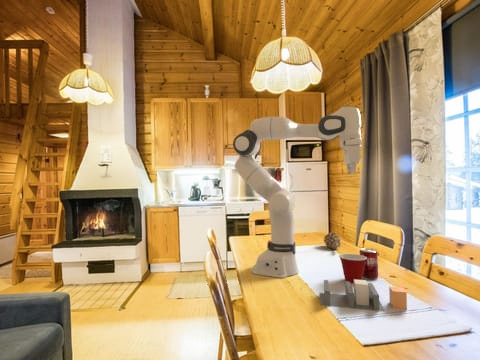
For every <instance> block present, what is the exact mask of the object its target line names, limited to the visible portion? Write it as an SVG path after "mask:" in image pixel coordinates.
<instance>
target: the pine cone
mask: <svg viewBox="0 0 480 360" xmlns="http://www.w3.org/2000/svg"><path fill="white" fill-rule="evenodd" d="M322 241H323V243H324V245H326V246H327V247H328V248H329V249H332V250H335V249H338V248H340V247H341V245H342V242H341V238H339V235H337V234H336V233H335V232H333V231H330V232H328V233H327V234H325V235H324V236H323V240H322Z"/></svg>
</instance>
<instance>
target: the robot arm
mask: <svg viewBox="0 0 480 360" xmlns="http://www.w3.org/2000/svg"><path fill="white" fill-rule="evenodd" d="M361 127H362V119H361V113H360V110H359V108H358V107H355V106H351V105H350V106H349V105H346V106H342V107H340V109H338V110H336V111H335V112H333V113H331V114H328V115H325V116H323V117H322V118H320V120H319V121H318V123H298V122H295V121H293V120H292V119H290V118H288V117H284V116H267V117H266V116H265V117H260V118H256V119H253V121H251V123H250V127H249V129H246V130H244V131H243V132H241V133H239V134H238V135H237V136H235V137H234V138H233V141H232V146H233V150H234V152H236V154H238V158H237V160H236V161H235V164H234V168H235V171H236V172H237V173H238V175H239V176H240V178H242V180H244V182H245V183H246V184H247V185H248V186H249V187H250V188H251V189H252V190H253V191H254V192H255V193H256V194H258V195H259V196H260V197H262V198H263V199H264V200H265V201H267V203H268V212H269V213H268V214H269V223H270V232H271V233H270V234H271V235H270V236H271V237H270V239H271V240H268V241H267V244H266V248H267V249H266V250H264V251H263V252H261V254H259V255H258V256H257V259H256V263H255V264H254V265H253V266H252V267H251V273H252V274H254V275H259V276H267V277H273V278H279V279H280V278H281V279H283V278H287V277H290V276H291V277H292V276H295V275H297V274H298V273H299V268H298V264H297V260H296V252H297V249H296V247H297V246H296V241H295V225H294V212H293V207H294V205H295V198H294V196H293V194H292V193H291V192H290V191H289V190H288V189H286V187H284V186H283V185H282V184H281V183H280V182H279V181H278V180H276V179H275V178H274V177H273V176H272V175H271V174H270V173H269V172H268V171H267V170H266V169H265V168H264V167H263V166H262V165H261V164H260V163H258V161H257V160H256V159H257V158H258V155H259V154H260V152H261V149H262V142H263V141H267V140H268V141H270V140H271V141H273V140H274V141H275V140H276V141H277V140H279V141H280V140H286V139H293V138H319V139H321V140H323V141H326V142H331V141H334V140H336V139H337V138H338V137H339V148H340V149H343V150H342V152H343V164H344V165H345V166H346V170H347V171H346V172H347V175H356V173H357V172H356V171H357V164H358V163H360V159H361V147H362V144H363V140H362V133H361Z"/></svg>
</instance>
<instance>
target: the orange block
mask: <svg viewBox="0 0 480 360" xmlns="http://www.w3.org/2000/svg"><path fill="white" fill-rule="evenodd" d="M388 289H389V294H388V295H389V304H390V306H391V307H392V308H393V309H400V310H408V303H407V302H408V301H407V299H408V298H407V297H408V296H407V295H408V294H407V291H406V290H405V288H403V287H402V286H388Z"/></svg>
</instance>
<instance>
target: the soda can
mask: <svg viewBox="0 0 480 360" xmlns="http://www.w3.org/2000/svg"><path fill="white" fill-rule="evenodd" d="M359 255H362V256H365V257H367V259H366V261H365V265H364V270H363V277H362V279H366V280H377V279H378V278H379V256H378V255H379V253H378V251H377V249H376V248H375V249H374V248H370V247H369V248H367V247H363V248H360V249H359Z"/></svg>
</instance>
